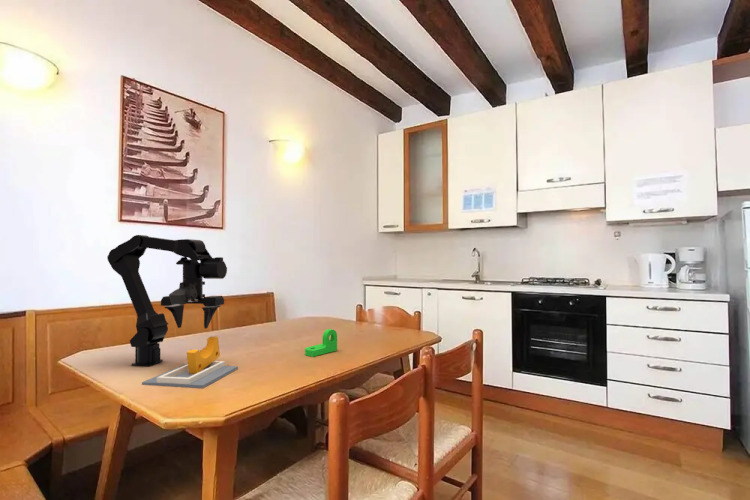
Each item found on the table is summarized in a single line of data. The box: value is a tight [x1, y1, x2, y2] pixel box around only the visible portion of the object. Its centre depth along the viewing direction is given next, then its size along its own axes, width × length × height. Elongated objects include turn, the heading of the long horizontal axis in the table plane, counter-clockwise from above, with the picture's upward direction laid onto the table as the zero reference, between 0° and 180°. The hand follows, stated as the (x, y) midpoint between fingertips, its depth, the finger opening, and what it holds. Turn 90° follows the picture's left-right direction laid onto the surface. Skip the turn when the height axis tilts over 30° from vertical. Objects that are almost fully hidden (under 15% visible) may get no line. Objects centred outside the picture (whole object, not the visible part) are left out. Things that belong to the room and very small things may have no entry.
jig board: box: [141, 360, 239, 389], centre depth 112 cm, size 18×18×2 cm
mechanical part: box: [304, 328, 338, 358], centre depth 141 cm, size 12×6×8 cm, turn 141°
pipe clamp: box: [186, 336, 221, 374], centre depth 118 cm, size 12×4×6 cm, turn 170°
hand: (192, 328), depth 124 cm, fingers open, 9 cm apart
